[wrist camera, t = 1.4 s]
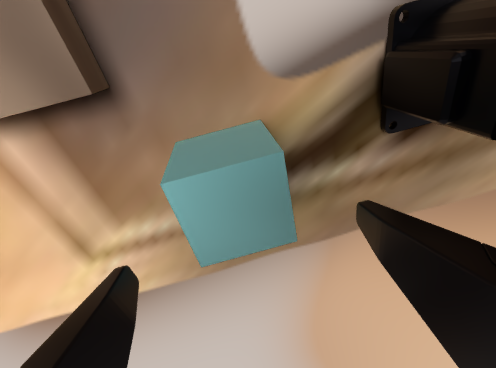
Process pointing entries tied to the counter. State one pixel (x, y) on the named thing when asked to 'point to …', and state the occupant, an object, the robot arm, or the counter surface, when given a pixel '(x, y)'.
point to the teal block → (230, 193)
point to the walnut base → (43, 56)
